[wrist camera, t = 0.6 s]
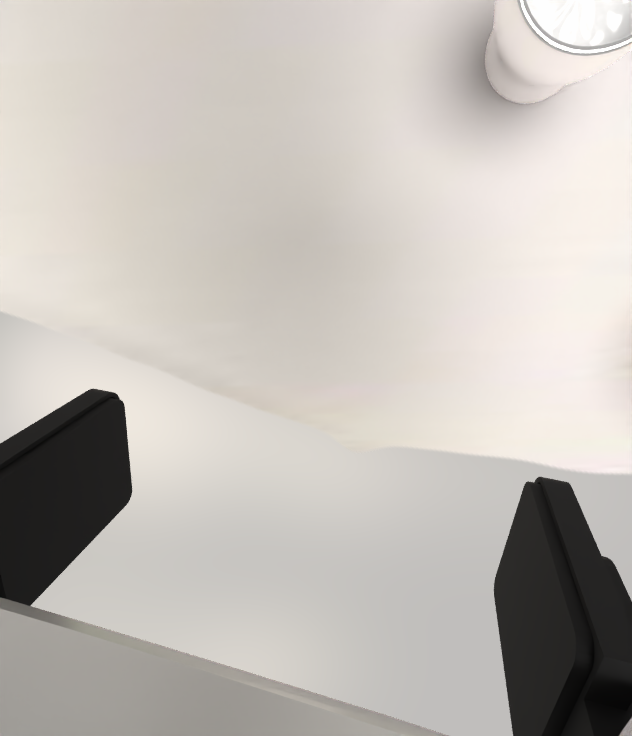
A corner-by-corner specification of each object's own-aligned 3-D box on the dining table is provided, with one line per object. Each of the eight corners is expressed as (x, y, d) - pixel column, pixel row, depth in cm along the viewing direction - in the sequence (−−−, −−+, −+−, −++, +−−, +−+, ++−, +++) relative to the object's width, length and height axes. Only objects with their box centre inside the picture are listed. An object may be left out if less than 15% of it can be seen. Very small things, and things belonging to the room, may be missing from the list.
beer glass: (560, -44, 29) (671, -243, 15) (613, 61, 30) (759, -38, 16) (457, 42, 31) (473, -62, 18) (509, 134, 33) (561, 102, 19)
